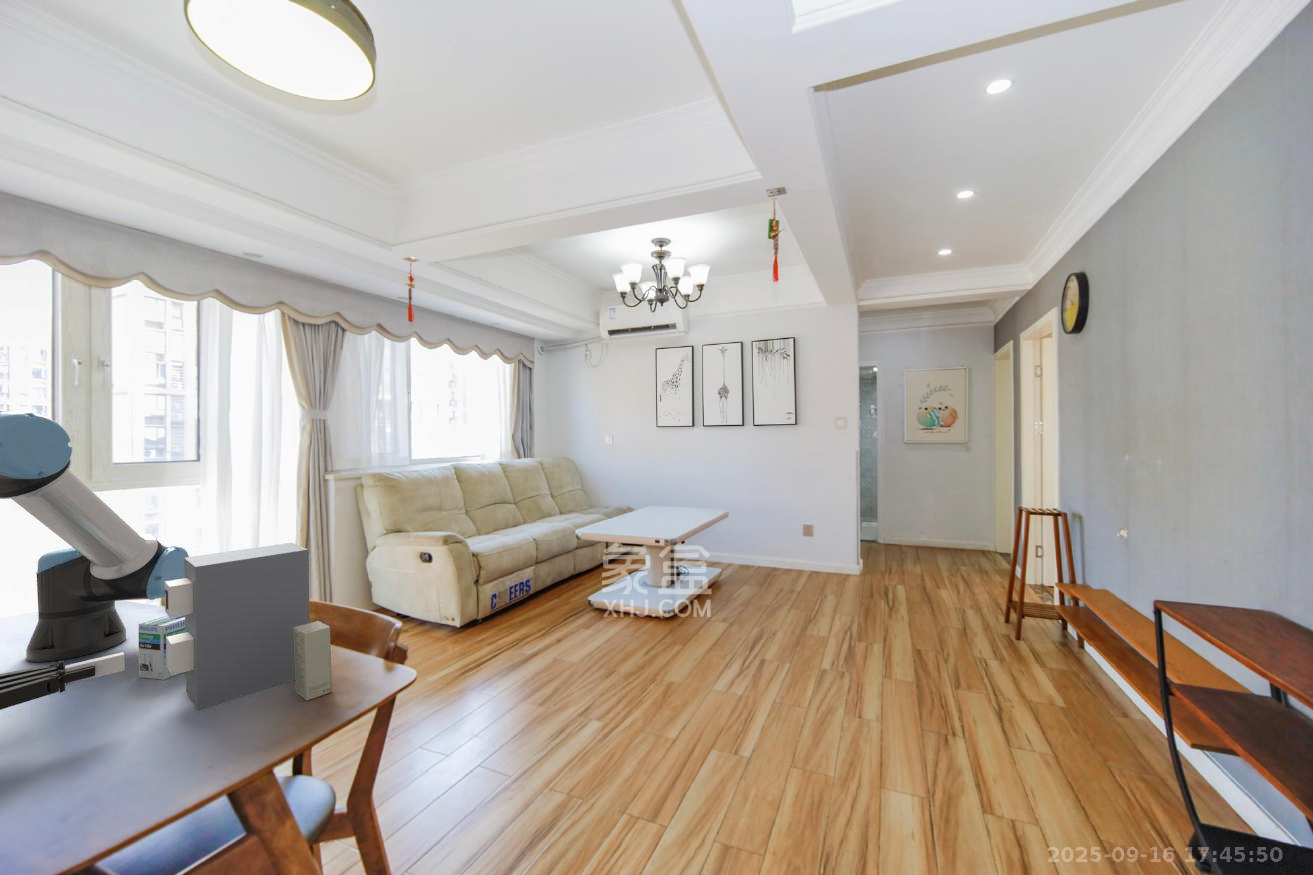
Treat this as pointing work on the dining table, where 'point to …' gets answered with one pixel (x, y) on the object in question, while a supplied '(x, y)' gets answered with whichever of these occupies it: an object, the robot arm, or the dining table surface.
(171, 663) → the plain button
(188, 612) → the white protruding block
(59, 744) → the dining table surface
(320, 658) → the skincare box
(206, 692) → the grey upright slab
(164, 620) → the light bulb box
